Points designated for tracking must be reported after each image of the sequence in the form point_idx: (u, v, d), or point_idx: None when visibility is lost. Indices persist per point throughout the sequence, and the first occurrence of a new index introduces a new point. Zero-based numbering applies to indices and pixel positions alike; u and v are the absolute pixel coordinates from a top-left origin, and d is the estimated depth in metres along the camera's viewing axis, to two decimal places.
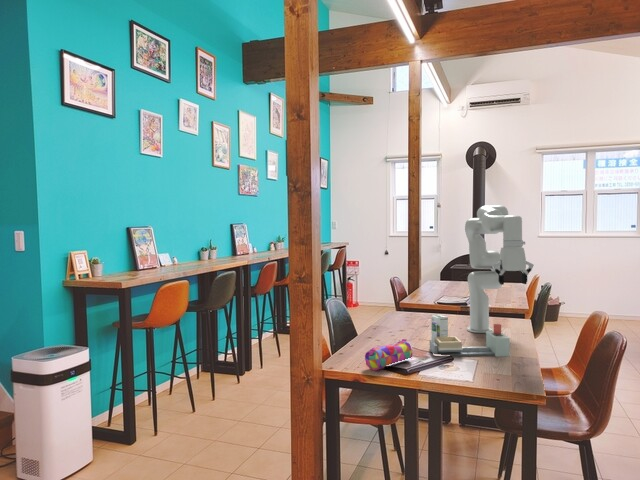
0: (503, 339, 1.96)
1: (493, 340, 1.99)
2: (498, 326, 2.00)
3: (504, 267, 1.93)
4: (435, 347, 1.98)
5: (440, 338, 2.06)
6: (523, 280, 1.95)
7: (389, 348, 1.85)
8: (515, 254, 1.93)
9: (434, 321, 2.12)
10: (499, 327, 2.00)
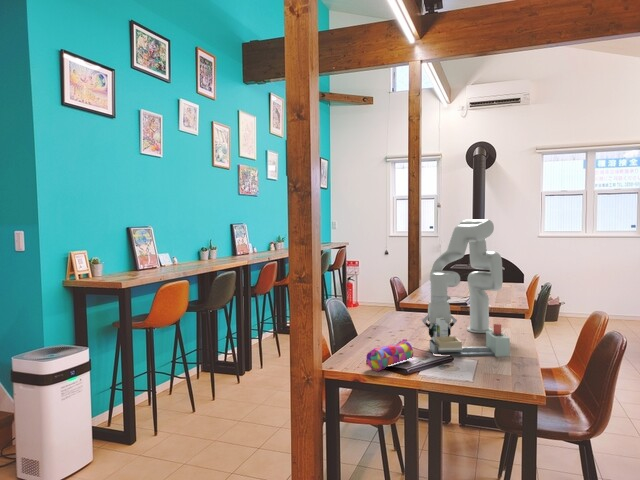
0: (503, 339, 1.96)
1: (493, 340, 1.99)
2: (498, 326, 2.00)
3: (431, 320, 2.11)
4: (435, 347, 1.98)
5: (440, 338, 2.06)
6: None
7: (390, 348, 1.84)
8: (440, 308, 2.10)
9: None
10: (499, 327, 2.00)
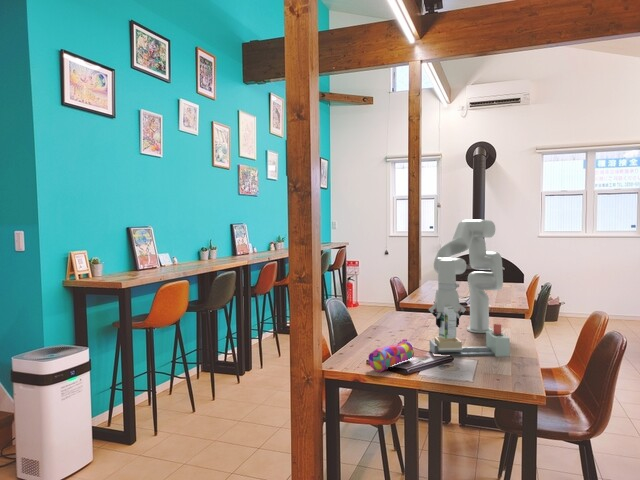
0: (503, 339, 1.96)
1: (493, 340, 1.99)
2: (498, 326, 2.00)
3: (438, 309, 2.00)
4: (435, 347, 1.98)
5: (440, 338, 2.06)
6: None
7: (392, 349, 1.84)
8: (449, 297, 1.99)
9: None
10: (499, 327, 2.00)
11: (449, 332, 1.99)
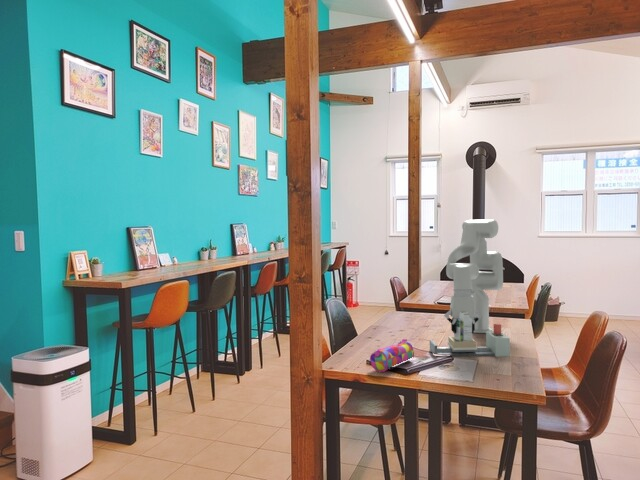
0: (503, 339, 1.96)
1: (493, 340, 1.99)
2: (498, 326, 2.00)
3: (454, 315, 2.00)
4: (435, 347, 1.98)
5: None
6: None
7: (394, 349, 1.83)
8: (464, 303, 1.99)
9: None
10: (499, 327, 2.00)
11: (465, 338, 1.99)
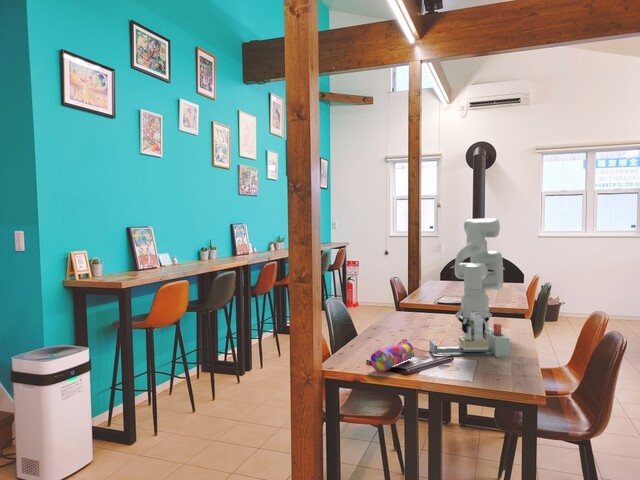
0: (503, 339, 1.96)
1: (493, 340, 1.99)
2: (498, 326, 2.00)
3: (464, 315, 2.00)
4: (435, 347, 1.98)
5: (464, 338, 2.06)
6: None
7: (394, 349, 1.83)
8: (475, 303, 1.99)
9: None
10: (499, 327, 2.00)
11: (475, 338, 1.99)
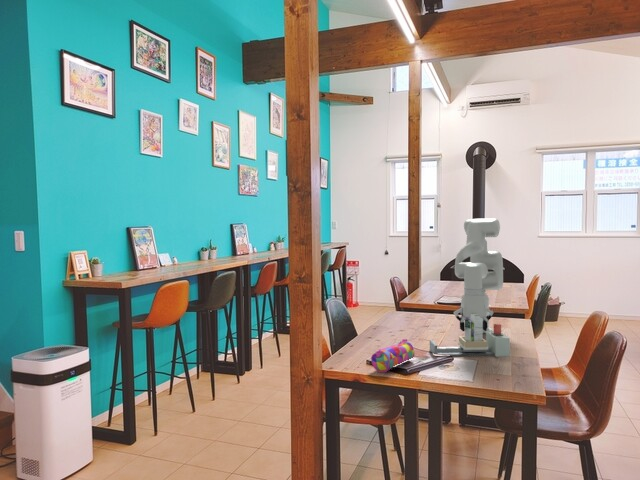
0: (503, 339, 1.96)
1: (493, 340, 1.99)
2: (498, 326, 2.00)
3: (465, 314, 2.00)
4: (435, 347, 1.98)
5: (464, 338, 2.06)
6: (483, 327, 2.01)
7: (395, 349, 1.83)
8: (475, 302, 1.99)
9: None
10: (499, 327, 2.00)
11: (475, 340, 1.99)
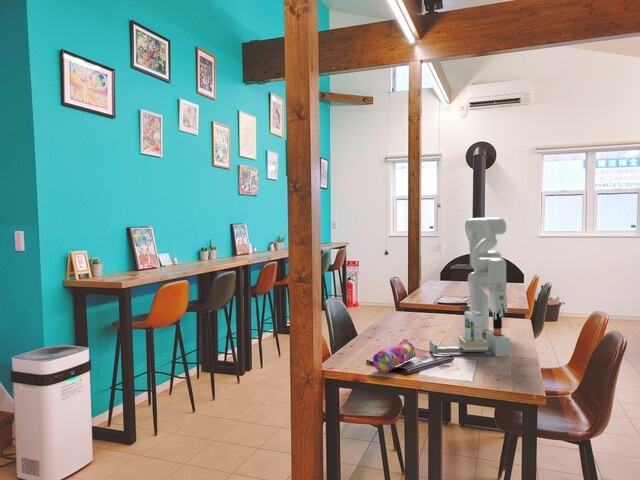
0: (503, 339, 1.96)
1: (493, 340, 1.99)
2: (498, 329, 2.00)
3: (489, 307, 2.05)
4: (435, 347, 1.98)
5: (464, 338, 2.06)
6: None
7: (396, 349, 1.83)
8: (491, 296, 2.01)
9: (467, 317, 2.01)
10: (499, 330, 2.00)
11: (475, 340, 1.99)
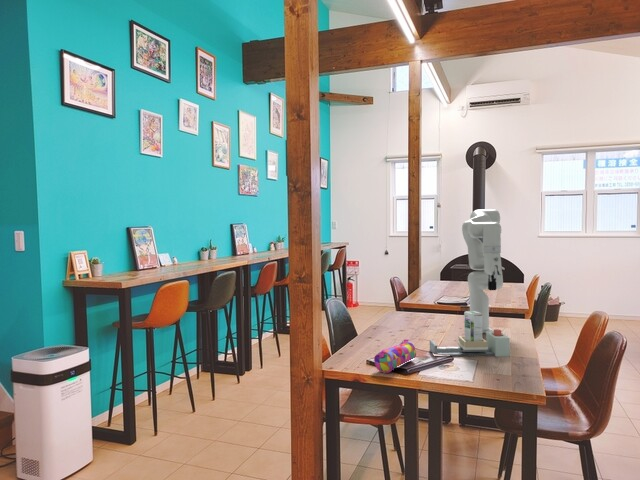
0: (503, 339, 1.96)
1: (493, 340, 1.99)
2: (498, 332, 2.00)
3: (484, 270, 2.11)
4: (435, 347, 1.98)
5: None
6: None
7: (397, 349, 1.83)
8: (486, 259, 2.06)
9: (467, 317, 2.01)
10: (499, 333, 2.00)
11: (475, 340, 1.99)
